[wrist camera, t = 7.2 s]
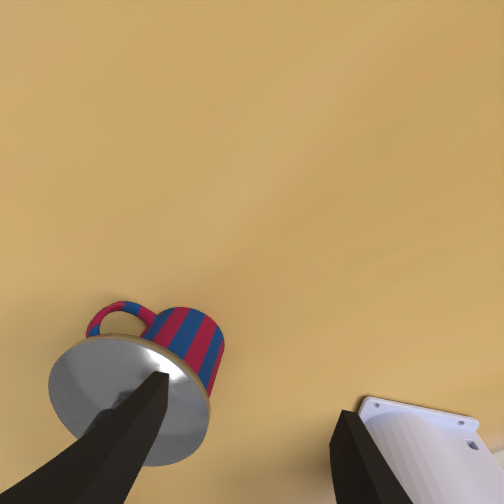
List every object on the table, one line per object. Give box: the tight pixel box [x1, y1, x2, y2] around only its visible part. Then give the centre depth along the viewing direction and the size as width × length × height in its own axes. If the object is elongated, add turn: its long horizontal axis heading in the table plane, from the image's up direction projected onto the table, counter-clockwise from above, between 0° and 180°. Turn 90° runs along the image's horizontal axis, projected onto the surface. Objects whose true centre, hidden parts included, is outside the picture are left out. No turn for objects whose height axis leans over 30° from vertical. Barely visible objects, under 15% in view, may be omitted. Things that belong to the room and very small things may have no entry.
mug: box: [86, 301, 225, 398], centre depth 20 cm, size 7×10×7 cm
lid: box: [48, 334, 211, 466], centre depth 15 cm, size 10×10×4 cm
